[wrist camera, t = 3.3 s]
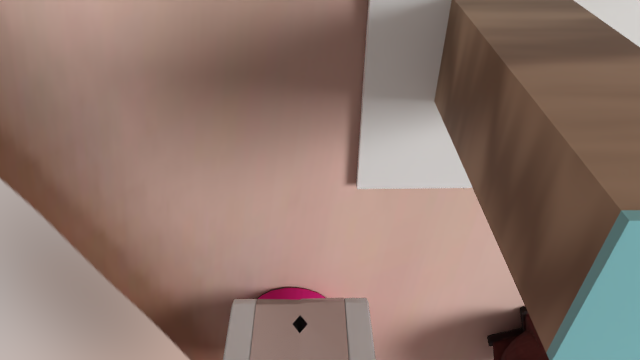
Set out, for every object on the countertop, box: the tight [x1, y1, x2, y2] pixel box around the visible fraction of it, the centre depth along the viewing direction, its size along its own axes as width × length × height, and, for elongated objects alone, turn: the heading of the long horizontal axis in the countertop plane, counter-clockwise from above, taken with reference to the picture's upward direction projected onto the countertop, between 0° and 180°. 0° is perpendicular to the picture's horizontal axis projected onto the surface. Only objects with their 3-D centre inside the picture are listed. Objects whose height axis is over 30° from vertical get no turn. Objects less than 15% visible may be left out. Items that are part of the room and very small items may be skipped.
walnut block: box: [434, 0, 640, 360], centre depth 16 cm, size 5×5×14 cm
